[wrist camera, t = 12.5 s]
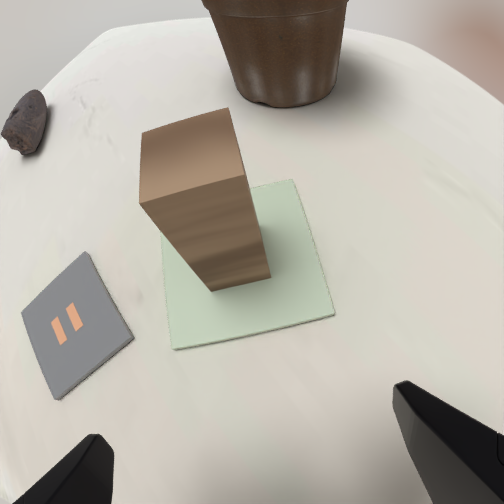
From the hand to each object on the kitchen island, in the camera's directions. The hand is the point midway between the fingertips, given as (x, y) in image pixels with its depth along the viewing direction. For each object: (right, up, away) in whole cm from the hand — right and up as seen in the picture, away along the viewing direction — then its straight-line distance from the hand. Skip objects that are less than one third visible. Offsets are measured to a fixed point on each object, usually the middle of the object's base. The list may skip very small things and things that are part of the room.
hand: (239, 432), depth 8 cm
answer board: (-1, +4, +17) cm, 18 cm away
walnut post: (-1, +5, +17) cm, 17 cm away
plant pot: (+5, +26, +27) cm, 37 cm away
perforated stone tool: (-34, +24, +32) cm, 52 cm away
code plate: (-16, -2, +17) cm, 23 cm away
